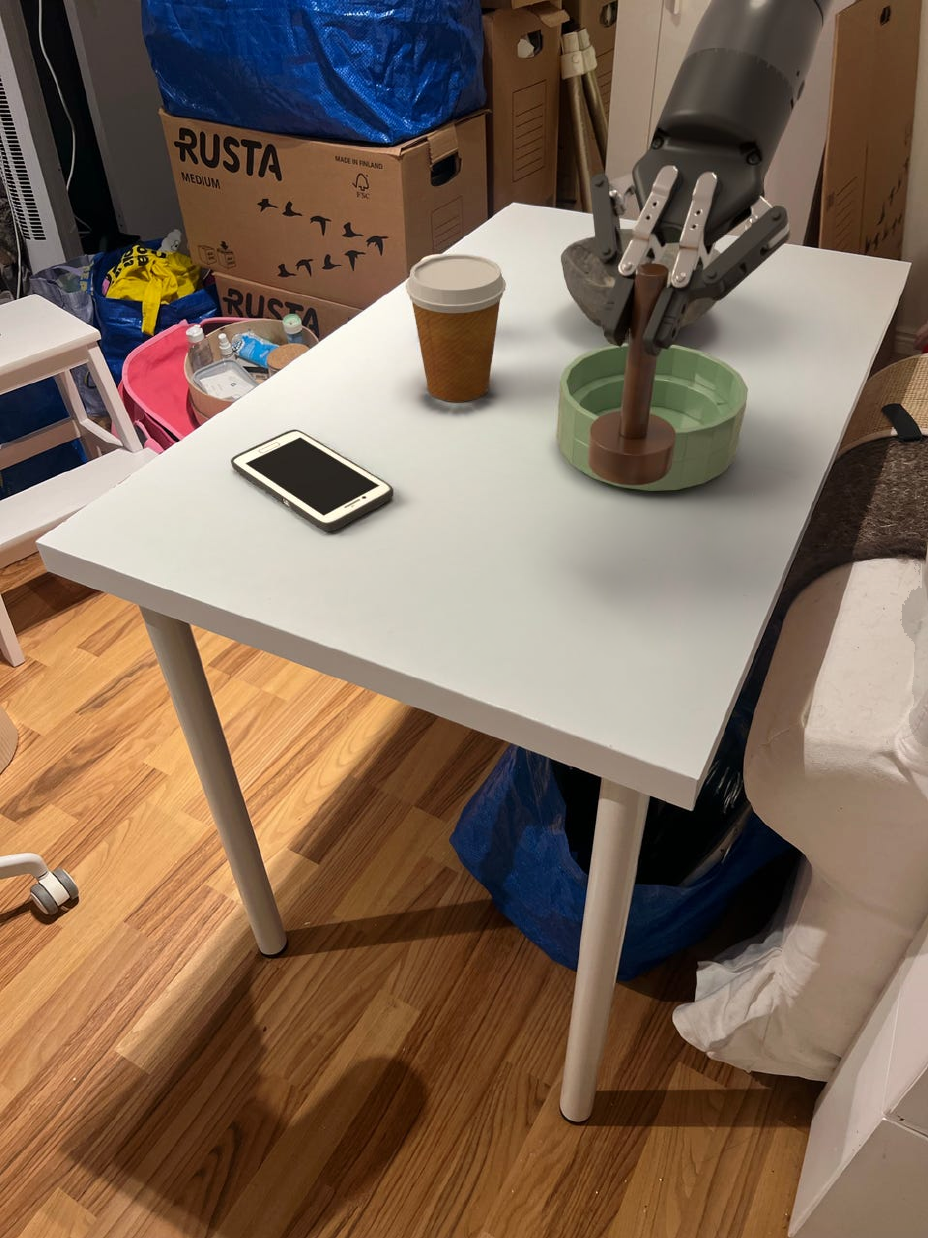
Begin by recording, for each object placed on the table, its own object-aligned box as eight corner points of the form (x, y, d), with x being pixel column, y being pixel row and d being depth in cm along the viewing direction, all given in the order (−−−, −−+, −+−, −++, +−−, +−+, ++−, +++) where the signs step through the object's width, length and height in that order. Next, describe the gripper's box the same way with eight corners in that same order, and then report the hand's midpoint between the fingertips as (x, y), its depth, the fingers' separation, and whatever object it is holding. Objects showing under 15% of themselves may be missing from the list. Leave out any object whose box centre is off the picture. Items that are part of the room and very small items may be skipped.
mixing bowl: (738, 414, 89) (751, 352, 85) (728, 510, 78) (742, 443, 73) (574, 395, 92) (578, 334, 88) (541, 483, 81) (544, 419, 77)
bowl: (751, 336, 101) (766, 264, 96) (620, 374, 95) (628, 300, 90) (652, 279, 113) (660, 212, 108) (530, 311, 107) (533, 241, 102)
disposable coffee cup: (480, 358, 99) (480, 245, 90) (520, 397, 92) (523, 280, 84) (398, 376, 96) (390, 262, 88) (433, 418, 89) (427, 299, 81)
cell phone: (296, 435, 87) (295, 426, 87) (398, 497, 80) (397, 488, 79) (228, 467, 83) (226, 458, 83) (328, 536, 76) (326, 527, 75)
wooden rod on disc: (675, 445, 67) (706, 254, 58) (666, 490, 63) (698, 293, 54) (594, 435, 69) (611, 246, 59) (580, 479, 64) (596, 284, 55)
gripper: (622, 31, 56) (516, 296, 57) (848, 55, 51) (726, 350, 52) (649, 107, 63) (553, 343, 64) (850, 136, 57) (742, 394, 58)
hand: (631, 344), depth 58 cm, fingers closed on wooden rod on disc
